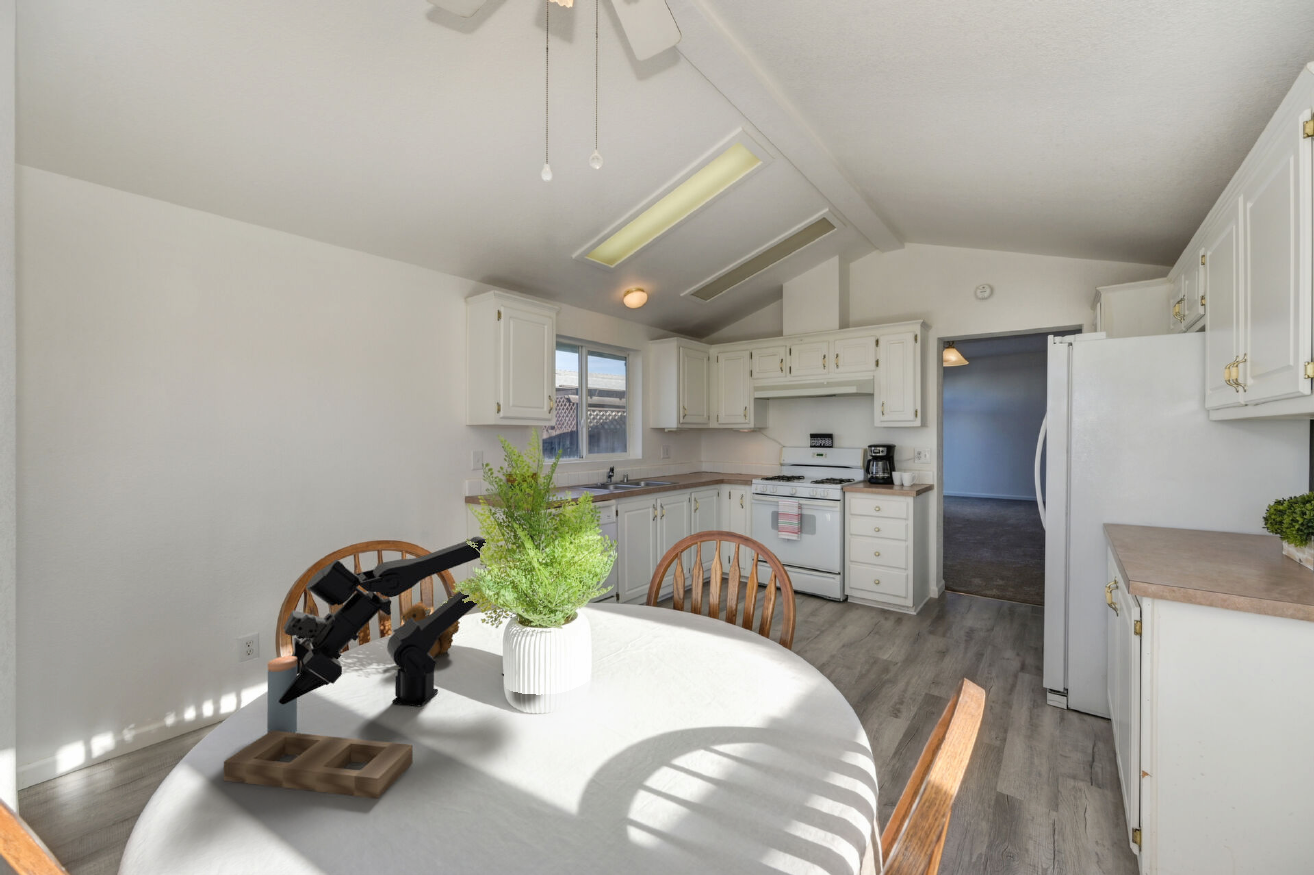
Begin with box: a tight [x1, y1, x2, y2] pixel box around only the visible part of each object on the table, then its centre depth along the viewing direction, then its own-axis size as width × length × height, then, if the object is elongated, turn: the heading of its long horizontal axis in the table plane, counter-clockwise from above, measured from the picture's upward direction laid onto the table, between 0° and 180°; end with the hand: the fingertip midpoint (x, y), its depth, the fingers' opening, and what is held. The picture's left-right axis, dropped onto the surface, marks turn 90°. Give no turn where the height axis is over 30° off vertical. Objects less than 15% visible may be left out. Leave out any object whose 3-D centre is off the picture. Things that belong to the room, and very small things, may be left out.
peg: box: [266, 655, 298, 734], centre depth 100 cm, size 4×4×13 cm
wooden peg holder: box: [223, 731, 414, 799], centre depth 89 cm, size 26×9×3 cm, turn 82°
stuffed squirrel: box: [400, 600, 461, 658], centre depth 135 cm, size 10×14×13 cm
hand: (279, 692), depth 100 cm, fingers open, 9 cm apart
